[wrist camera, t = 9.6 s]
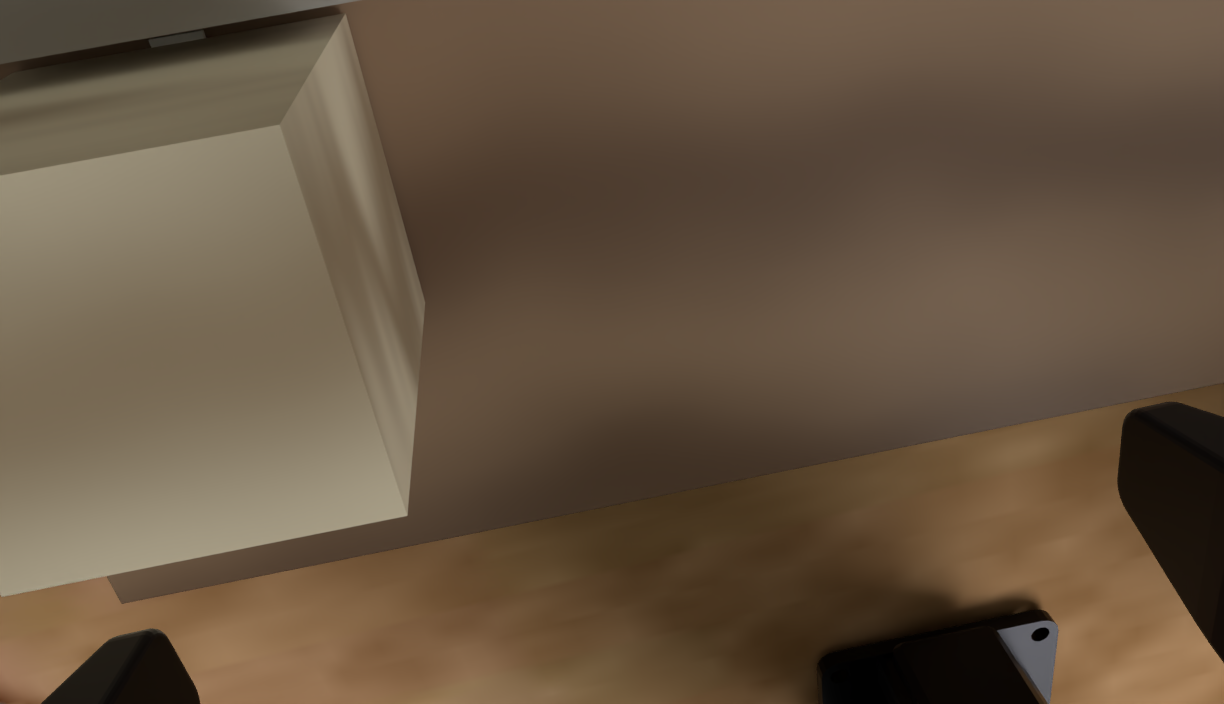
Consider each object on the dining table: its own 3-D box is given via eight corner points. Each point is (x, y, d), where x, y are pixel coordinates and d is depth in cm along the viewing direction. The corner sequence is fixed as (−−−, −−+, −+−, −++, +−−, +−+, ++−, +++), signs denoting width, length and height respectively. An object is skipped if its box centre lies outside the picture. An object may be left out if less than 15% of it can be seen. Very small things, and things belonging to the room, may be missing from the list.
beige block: (453, 405, 18) (448, 640, 13) (189, 456, 18) (78, 716, 13) (345, 13, 15) (280, 123, 10) (14, 72, 15) (-237, 218, 9)
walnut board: (1354, 301, 23) (1514, 390, 19) (149, 539, 21) (88, 680, 18) (1520, -318, 17) (1799, -351, 13) (-140, -32, 15) (-314, 15, 12)
